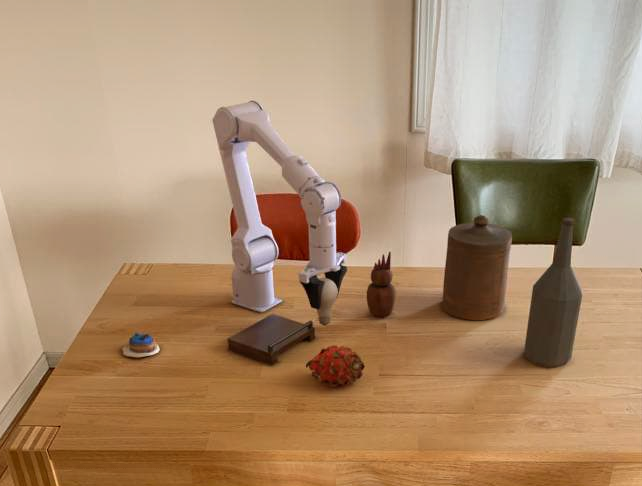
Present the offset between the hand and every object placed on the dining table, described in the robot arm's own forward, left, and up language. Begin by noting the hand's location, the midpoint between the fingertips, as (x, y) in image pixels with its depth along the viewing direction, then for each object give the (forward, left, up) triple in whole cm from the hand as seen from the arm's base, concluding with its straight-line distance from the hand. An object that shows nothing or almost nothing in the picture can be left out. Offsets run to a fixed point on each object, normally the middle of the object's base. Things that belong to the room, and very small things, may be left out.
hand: (324, 302), depth 176 cm
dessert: (-26, -31, -7) cm, 41 cm away
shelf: (-5, -13, -6) cm, 15 cm away
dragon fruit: (+16, -18, -7) cm, 25 cm away
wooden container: (+22, +30, -7) cm, 38 cm away
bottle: (+47, +17, -7) cm, 50 cm away
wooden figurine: (+6, +14, -7) cm, 17 cm away
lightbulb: (0, 0, -6) cm, 6 cm away
